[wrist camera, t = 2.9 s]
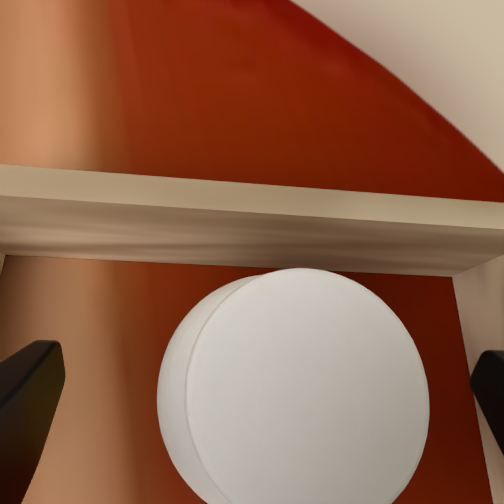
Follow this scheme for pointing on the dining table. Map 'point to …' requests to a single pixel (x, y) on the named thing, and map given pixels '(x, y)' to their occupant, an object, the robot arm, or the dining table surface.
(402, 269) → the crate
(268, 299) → the supplement bottle
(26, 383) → the robot arm
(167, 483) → the dining table surface
